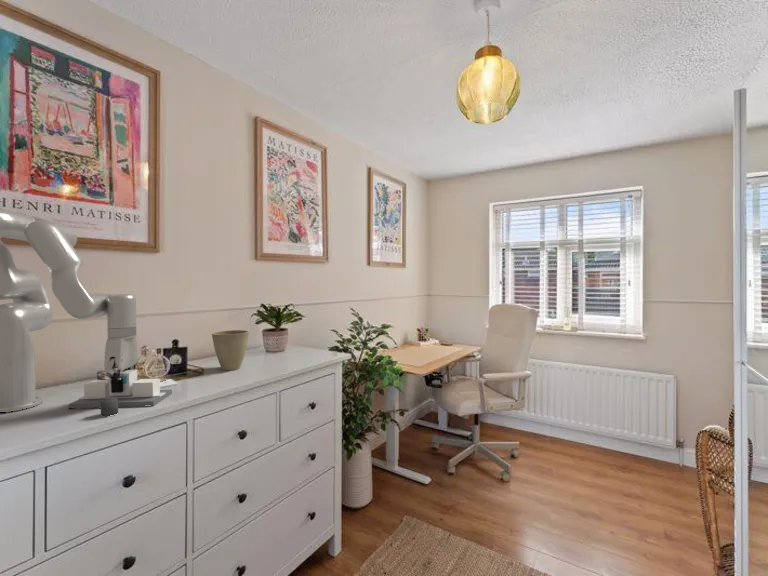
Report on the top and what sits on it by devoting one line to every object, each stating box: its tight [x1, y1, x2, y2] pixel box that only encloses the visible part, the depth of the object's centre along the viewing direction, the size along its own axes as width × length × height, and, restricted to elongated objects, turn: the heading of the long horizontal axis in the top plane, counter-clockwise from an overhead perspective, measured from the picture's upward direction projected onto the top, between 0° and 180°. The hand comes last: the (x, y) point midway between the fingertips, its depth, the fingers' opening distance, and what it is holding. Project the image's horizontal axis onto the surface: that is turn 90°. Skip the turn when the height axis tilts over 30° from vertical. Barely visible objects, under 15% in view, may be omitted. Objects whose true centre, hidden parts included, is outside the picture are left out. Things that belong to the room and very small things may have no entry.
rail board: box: [67, 378, 173, 409], centre depth 117 cm, size 24×12×6 cm, turn 96°
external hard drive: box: [160, 378, 179, 389], centre depth 133 cm, size 2×8×12 cm
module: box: [108, 369, 138, 396], centre depth 117 cm, size 6×5×7 cm
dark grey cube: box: [100, 399, 119, 417], centre depth 105 cm, size 4×4×4 cm
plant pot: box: [211, 329, 250, 371], centre depth 160 cm, size 15×15×16 cm
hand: (122, 388), depth 117 cm, fingers open, 5 cm apart
